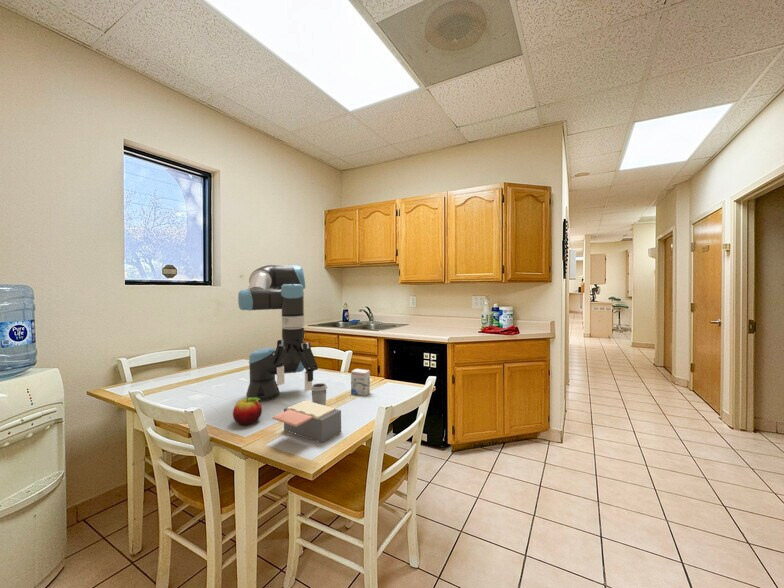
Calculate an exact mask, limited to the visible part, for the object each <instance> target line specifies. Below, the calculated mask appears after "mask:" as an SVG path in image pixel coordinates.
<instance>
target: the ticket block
mask: <svg viewBox="0 0 784 588" xmlns="http://www.w3.org/2000/svg"><path fill="white" fill-rule="evenodd" d="M287 410H292V411H295V412H299V413H302V414H305V415H309V416H312V419H311V420H309V421H306V422H304V423H302V424H300V425H298V426H296V427H295V426H292V425H289V424H286V423H283V430H284V431H286V430H287V432H289V431H290V432H289V433H292V432H293V433H292V434H295V433H296V434H295V435H297V434H298V436H300V435H301V437H303V436H304V438H305V439H310V440H312V441H314V440H315V441H316V442H317V441H318V442H317V443H321V444H324V443H325V441H326V442H327V441H329V440H331V439H332V438H334V437H336V436H337V435H338V434H340V433H342V410H341V409H338V408H337V409H336V408H334V407H332V406H328V405H326V404H325V405H321V404H317V403H313V401H309V400H301V401H299V402H297V403H294V404H291V405H290V406H286V407H284V408H283V412H285V411H287Z"/></svg>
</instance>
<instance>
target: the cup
mask: <svg viewBox="0 0 784 588" xmlns="http://www.w3.org/2000/svg"><path fill="white" fill-rule="evenodd" d="M327 389H328V386H327V384H326V383H324V382H318V383H312V390H311V400H312V401H311V402H313V403H317V404H321V405H325V406H326V405H327Z"/></svg>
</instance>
